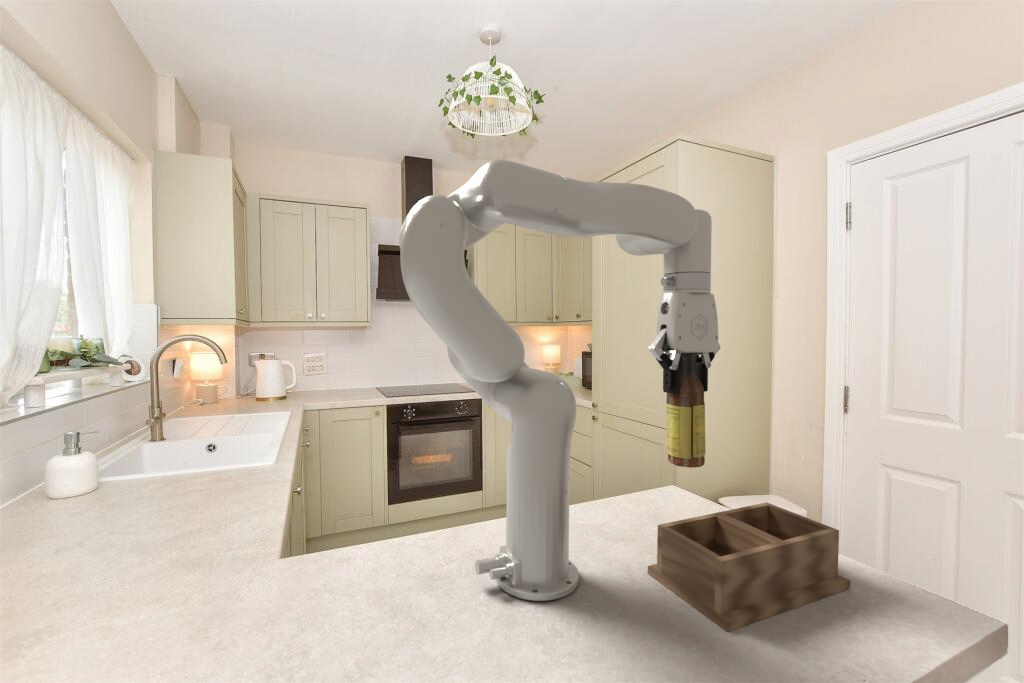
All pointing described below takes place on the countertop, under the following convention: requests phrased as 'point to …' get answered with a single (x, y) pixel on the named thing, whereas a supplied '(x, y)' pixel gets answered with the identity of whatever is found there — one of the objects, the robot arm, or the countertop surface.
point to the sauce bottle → (686, 417)
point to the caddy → (748, 563)
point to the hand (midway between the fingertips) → (685, 390)
